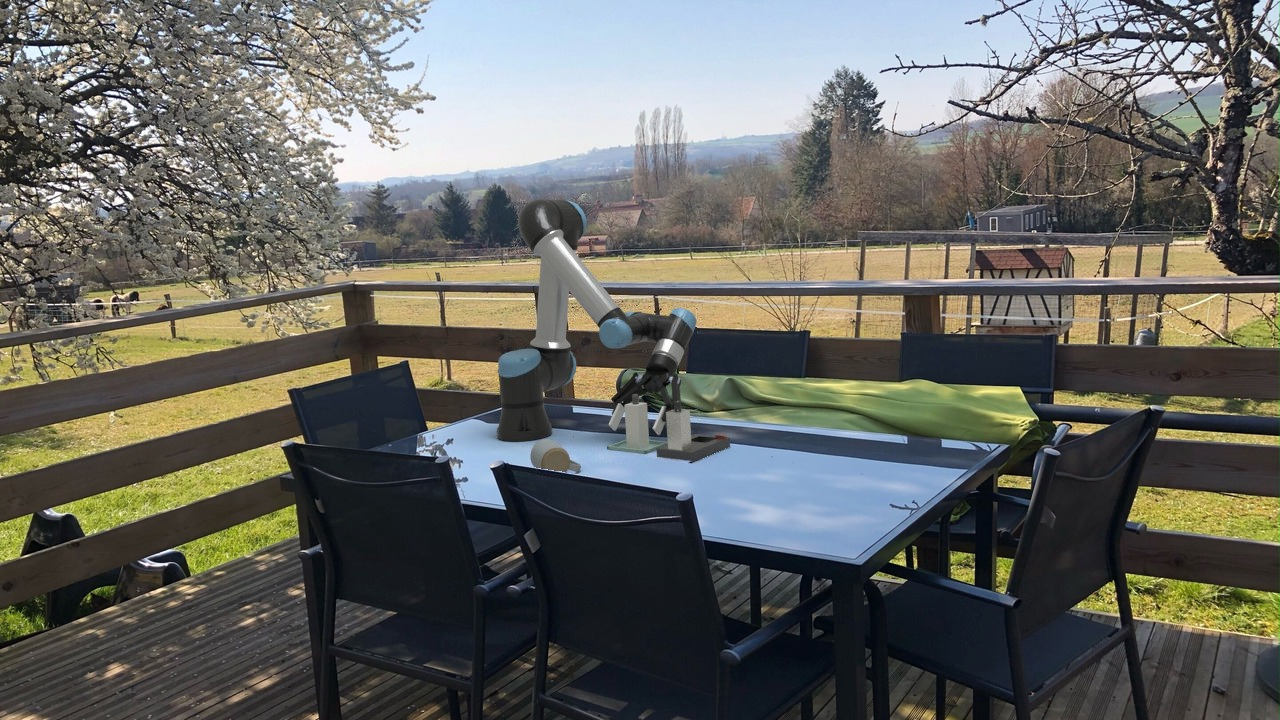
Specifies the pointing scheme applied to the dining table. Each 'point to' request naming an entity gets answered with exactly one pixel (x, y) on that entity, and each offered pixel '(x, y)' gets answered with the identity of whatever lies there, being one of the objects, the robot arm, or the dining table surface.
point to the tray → (623, 446)
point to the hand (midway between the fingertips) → (633, 429)
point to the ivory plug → (636, 424)
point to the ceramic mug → (552, 457)
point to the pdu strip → (697, 445)
